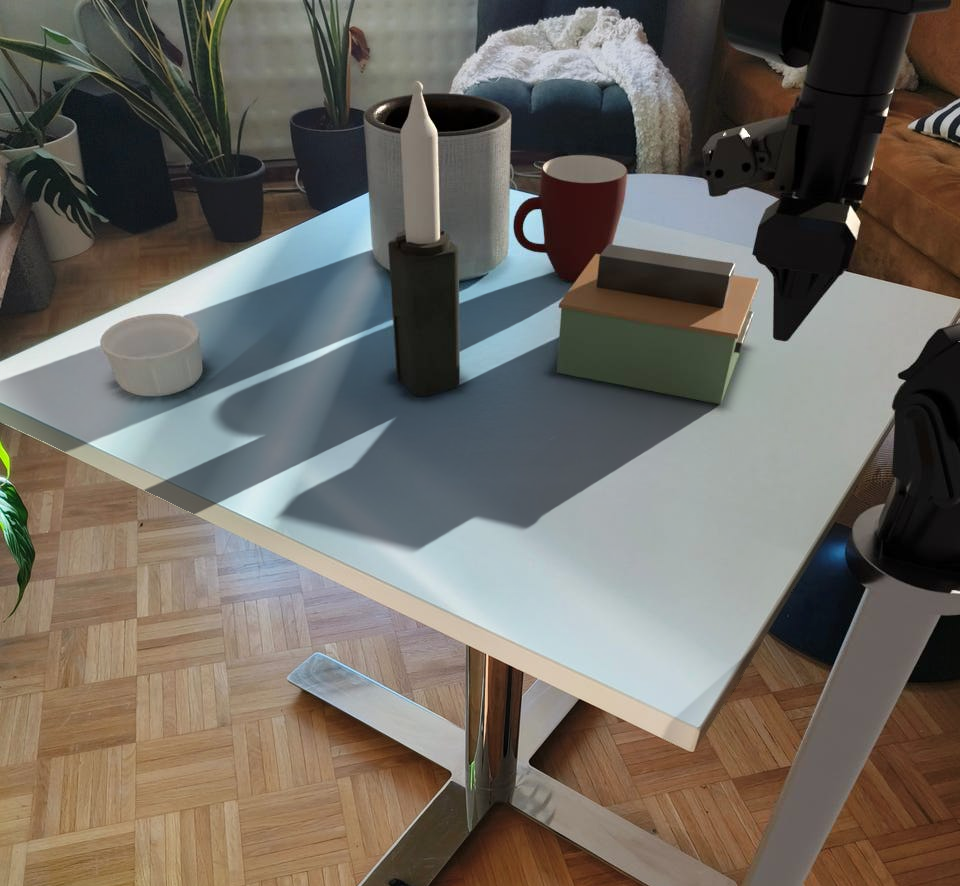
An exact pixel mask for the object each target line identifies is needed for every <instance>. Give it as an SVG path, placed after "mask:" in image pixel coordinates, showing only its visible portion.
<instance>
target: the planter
mask: <svg viewBox="0 0 960 886" xmlns="http://www.w3.org/2000/svg"><path fill="white" fill-rule="evenodd" d="M422 95H423V99H424V102H425V106H426V109H427V112H428V116H429V118H430V119H431V121H432V122H433V124H434V126H435V127H436V129H437V133H438V174H439V216H440V230H443V231H444V234H449V237H450V241H451V242H452V243H454V244H455V245H456V246H457V247H458V249H459V282H464V281H469V280H473V279H476V278H479V277H483V276H485V275H487V274H488V273H489V274H490V273H491V271H493V270H495V269H497V268H498V267H499V266H501V264H502V263H503V262H504V261H505V260H506V258H507V257H508V253H509V246H510V206H511V205H510V200H511V199H510V196H511V143H512V142H511V141H512V113H511V111H510V110H509V109H508V108H507V107H505V105H503V104H501V103H500V102H497V101H495V100H492V99H489V98H486V97H480V96H476V95H471V94H470V95H469V94H462V93H452V92H451V93H450V92H428V93H427V92H426V93H422ZM412 97H413V93H412V94H405V95H400V96H395V97H391V98H387V99H383V100H381V101H379V102H376V103H374V104H372V105H371V106H369V107H368V108H367V109H366V110H365V111H364V112H363V127H364V128H363V129H364V141H365V143H364V144H365V156H366V158H365V159H366V171H367V172H366V174H367V188H368V201H369V202H368V203H369V204H368V205H369V219H370V220H369V222H370V223H369V224H370V237H371V238H370V239H371V248H372V253H373V257H374V259H375V260H376V261H377V263H378V264H379V265H380V266H381V267H383V268H384V269H386V270H387V271H389V272H390V264H389V248H388V243H389V242H390V241H391V240H393V239H396V236H397V234H398V233H400V232H401V231H404V230H405V212H404V192H403V172H402V152H401V129H402V127H403V125H404V123H405V121H406V120H407V118H408V115H409V110H410V106H411V101H412Z"/></svg>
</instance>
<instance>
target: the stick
mask: <svg viewBox="0 0 960 886" xmlns="http://www.w3.org/2000/svg"><path fill="white" fill-rule="evenodd" d="M735 267H736V263H734V262H728V261H722V260H715V259H708V258H701V257H697V256H696V257H695V256H689V255H681V254H675V253H669V252H664V251H663V252H661V251H655V250H649V249H644V248H643V249H642V248H636V247H631V246H623V245H617V244H612V245H611V244H608V245H607V246H606V248H605V249H604V250H603V252H602V253H601V255H600V256H599V266H598V276H597V287H598V288H604V289H610V290H616V291H622V292H628V293H634V294H640V295H646V296H652V297H658V298H664V299H670V300H677V301H683V302H689V303H695V304H701V305H707V306H713V307H719V308H723V307H724V305H725V302H726V300H727V298H728V295H729V291H730V287H731V282H732V277H733V275H734V271H735Z"/></svg>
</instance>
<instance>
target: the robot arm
mask: <svg viewBox="0 0 960 886" xmlns="http://www.w3.org/2000/svg"><path fill="white" fill-rule="evenodd" d="M952 3H953V0H724V3H723V7H722V27H723V33H724V36H725V39H726V41H727V42H728V43H729V45H730V46H731V47H733V48H734V49H735V50H736V51H737V50H738V51H741V52H744V53H746V54H749V55H753V56H756V57H758V58H762V59H763V60H764V59H765V60H768V61H770V62H774V63H777V64H780V65H783V66H786V67H788V68H794V69H801V68H804V67H806V70H805V74H804V78H803V82H802V86H801V91H800V94H797V95H796V98H795V102H794V106H791V108H790V110H789V114H787V115H783V116H782V115H781V116H778V117H772V118H766V119H762V120H759V121H755V122H752V123H748V124H744V125H741V126H736V127H732V128H729V129H726V130H722V131H719V132H717V133H715V134H713V135H711V136H710V137H709V139H708V140H707V142H706V143H705V145H704V146H703V148H702V149H701V150H702V151H701V152H702V157H703V163H704V165H703V168H702V170H701V177H702V179H703V180H705V181H706V182H707V189H708V196H710V197H712V198H715V197H722V196H726V195H728V193H729V192H731V191H734V190H738V189H743V188H747V187H751V186H752V187H753V186H757V185H760V184H764V183H767V182H770V181H772V180H773V181H772V188H771V190H770V191H771V192H775V193H779V196H780V198H778V199H777V200H776V201H774V202H773V203H771V204H770V205H769V206H768V207H766V208H765V210H764V212H763V215H762V216H761V219H760V221H759V224H758V226H757V230H756V234H755V240H754V244H753V248H752V253H751V255H752V256H754V257H755V259H756V261H757V262H758V263H759V264H760V265H762V266H765V268H766V269H767V270H768V271H769V273H770V274H771V275H772V278H773V279H772V280H773V302H772V303H773V305H772V307H773V308H772V311H773V312H772V338H773V340H775V341H780V342H788V341H789V340H790V339H791V338H792V337H793V335H794V334H795V333H796V331H797V330H798V329H799V327H801V325H802V324H803V322H804V321H805V319H806V318H807V317H808V316H809V315H810V313H811V312H812V310H813V309H814V308H815V307H816V306H817V305H818V303H819V302H820V301H821V299H822V298H823V297H824V296H825V294H826V293H827V292H828V291H829V290H830V288H831V287H832V286H833V285H834V284H835V282H836V281H837V280H838V278H839V277H841V276H843V274H844V273H845V271H846V270H849V267H850V263H851V260H852V257H853V254H854V250H855V248H856V247H855V246H856V244H857V240H858V235H859V230H860V226H861V220H860V219H859V217H858V215H857V214H856V213H857V211H858V210H859V208H860V206H861V204H862V201H863V199H864V195H865V194H866V191H867V187H868V184H869V181H870V177H871V174H872V171H873V166H874V161H875V155H876V152H877V148H878V145H879V141H880V138H881V135H882V134H883V130H884V128H885V124H886V121H887V118H888V113H889V107H890V105H891V102H892V101H891V100H892V97H893V94H894V90H895V86H896V82H897V79H898V76H899V73H900V69H901V66H902V63H903V59H904V55H905V53H906V48H907V46H908V42H909V39H910V36H911V33H912V28H913V25H914V22H915V18H916V15H921V14H928V13H937V12H944V11H947V10H948V9H949V8H950V7H951V6H952ZM897 378H898V379H899V380H903V381H904V382H902V384H901V385H900V386H899V387H898V389H897V391H896V392H895V394H894V396H893V400H892V403H891V409H892V410H893V411H894V428H893V429H894V431H893V448H892V449H893V450H892V468H891V474H892V476H893V477H894V480H893V483H892V485H891V488H890V490H889V493H888V495H887V498H886V500H885V503H884V504H885V505H884V507H883V510H882V512H881V515H880V518H879V526H878V535H877V536H878V538H879V539H881V540H882V544H881V554H880V558H881V560H882V561H884V562H886V563H890V564H895V565H899V566H903V567H908V568H912V569H917V570H921V571H926V572H930V573H934V574H939V575H943V576H948V577H952V578H956V579H960V322H957V323H954V324H951V325H948V326H944V327H939V328H938V329H936V330H935V332H934V333H933V334H932V335H931V336H930V337H929V338H928V340H927V341H926V343H925V344H924V346H923V348H922V350H921V351H920V354H919V355H918V356H917V358H916V359H915V361H913V363H912V364H911V365H910V366H909V367H908V368H906V369H904V370H902V371H900V372H898V373H897Z"/></svg>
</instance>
